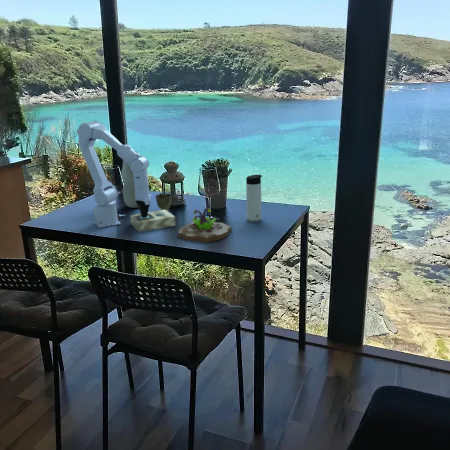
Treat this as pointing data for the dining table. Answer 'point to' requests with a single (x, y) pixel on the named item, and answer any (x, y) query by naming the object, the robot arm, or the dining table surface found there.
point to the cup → (163, 201)
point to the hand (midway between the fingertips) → (144, 217)
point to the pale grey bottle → (128, 185)
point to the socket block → (153, 220)
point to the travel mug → (253, 198)
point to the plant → (204, 229)
